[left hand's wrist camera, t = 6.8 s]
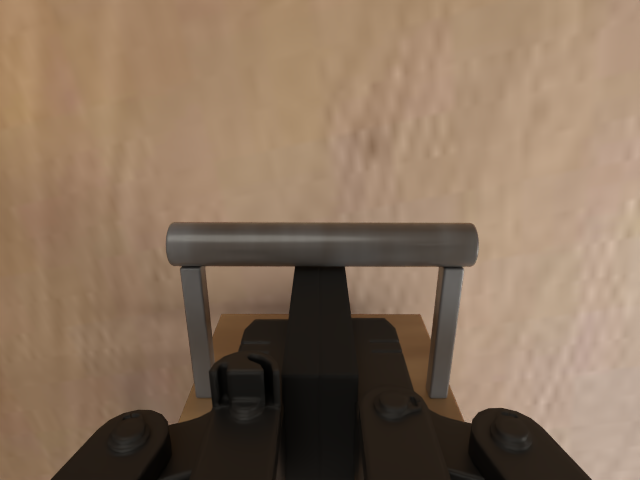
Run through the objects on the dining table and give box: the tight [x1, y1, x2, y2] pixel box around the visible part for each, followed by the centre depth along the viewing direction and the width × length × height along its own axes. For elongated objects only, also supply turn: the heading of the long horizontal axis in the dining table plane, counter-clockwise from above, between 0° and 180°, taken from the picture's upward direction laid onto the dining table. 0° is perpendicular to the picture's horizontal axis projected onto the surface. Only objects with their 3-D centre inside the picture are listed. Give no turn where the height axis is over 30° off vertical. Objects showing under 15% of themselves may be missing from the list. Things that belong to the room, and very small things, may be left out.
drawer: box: [166, 222, 479, 423], centre depth 18 cm, size 22×9×7 cm, turn 0°
